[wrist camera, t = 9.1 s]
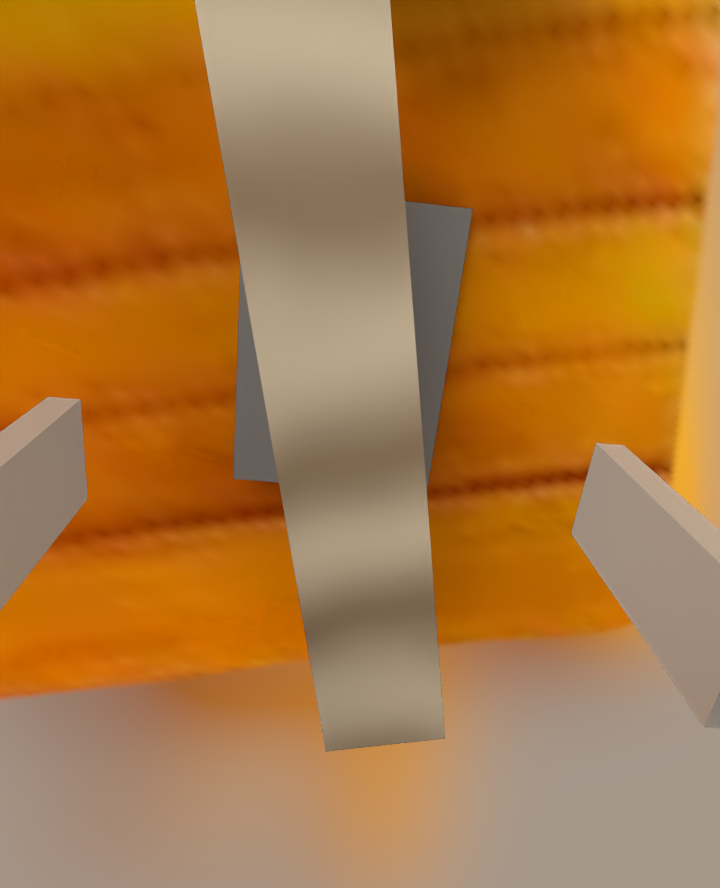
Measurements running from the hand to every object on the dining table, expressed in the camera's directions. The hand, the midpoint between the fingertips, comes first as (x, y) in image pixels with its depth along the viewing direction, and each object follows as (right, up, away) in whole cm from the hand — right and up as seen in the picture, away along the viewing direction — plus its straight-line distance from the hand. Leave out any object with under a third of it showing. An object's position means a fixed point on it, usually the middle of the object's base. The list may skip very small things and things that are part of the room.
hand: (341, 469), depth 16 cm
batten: (0, +2, +7) cm, 8 cm away
